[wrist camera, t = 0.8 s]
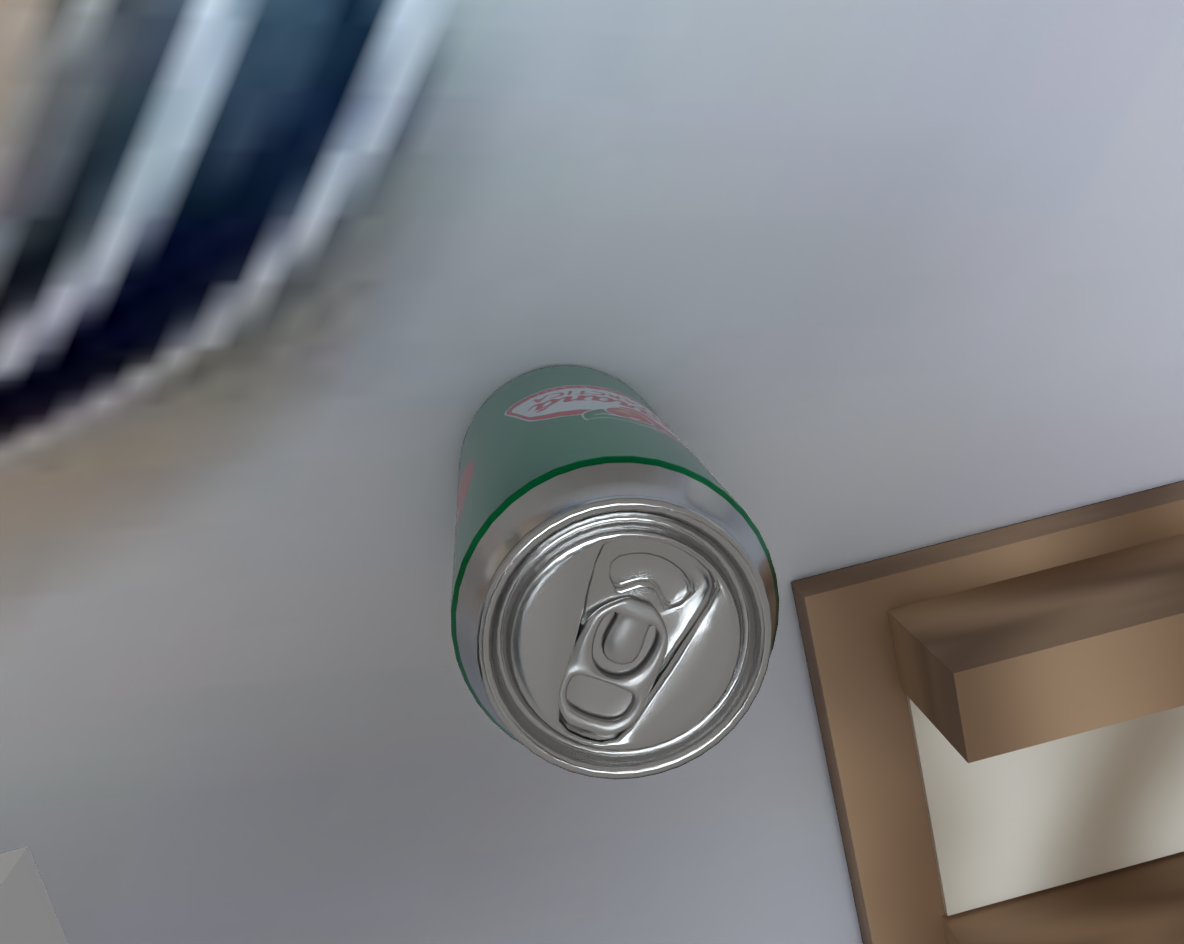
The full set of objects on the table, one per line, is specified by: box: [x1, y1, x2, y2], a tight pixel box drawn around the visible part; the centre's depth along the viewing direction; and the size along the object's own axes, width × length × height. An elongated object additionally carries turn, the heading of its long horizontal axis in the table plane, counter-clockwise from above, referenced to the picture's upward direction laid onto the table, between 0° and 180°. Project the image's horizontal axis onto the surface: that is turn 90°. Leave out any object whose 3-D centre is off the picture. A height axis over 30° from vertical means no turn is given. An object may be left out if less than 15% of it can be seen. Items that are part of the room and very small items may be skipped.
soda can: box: [451, 366, 779, 779], centre depth 22 cm, size 5×5×12 cm
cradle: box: [791, 481, 1184, 944], centre depth 28 cm, size 16×13×5 cm
